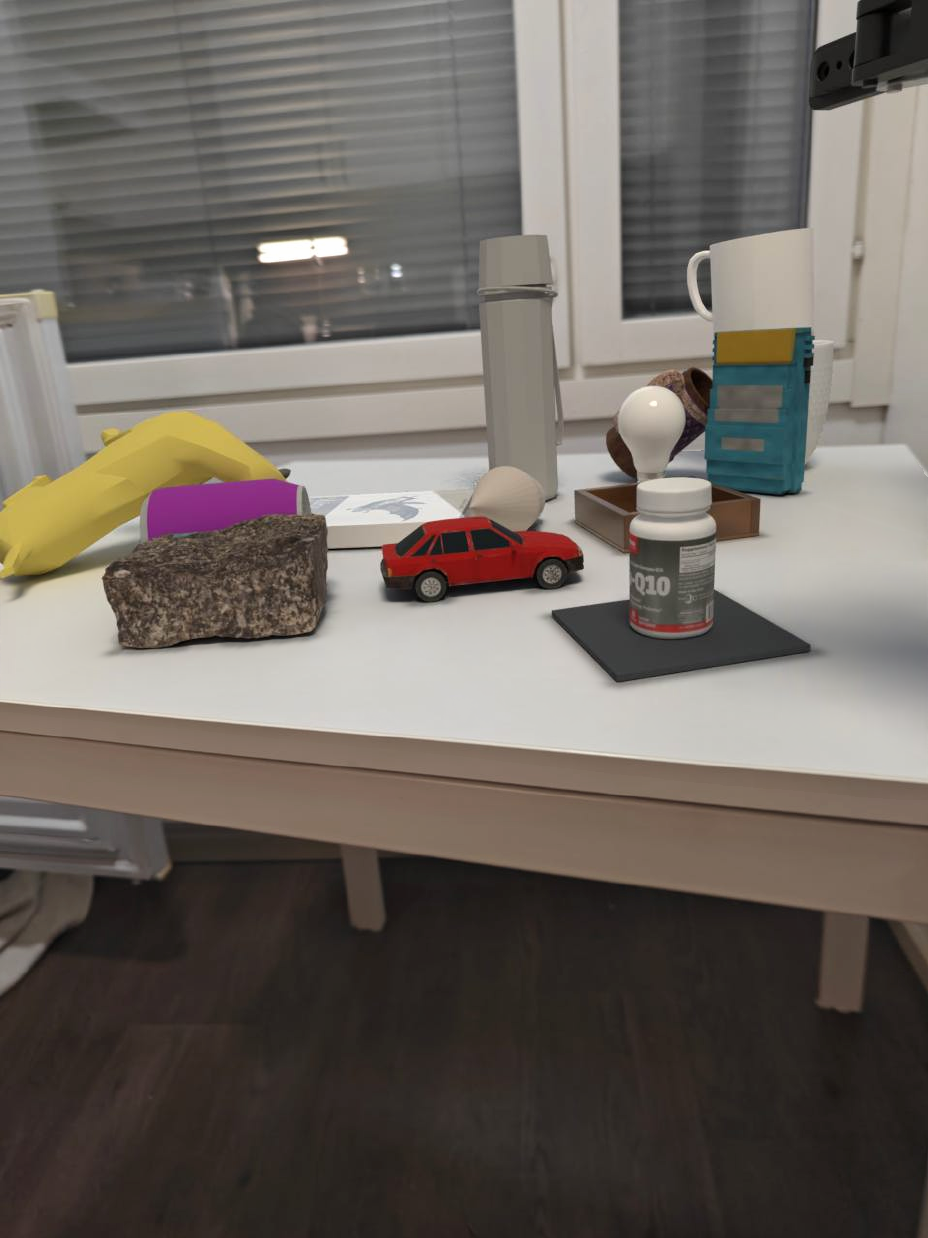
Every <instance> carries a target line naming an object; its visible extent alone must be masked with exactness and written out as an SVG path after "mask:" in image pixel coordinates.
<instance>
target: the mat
mask: <svg viewBox="0 0 928 1238" xmlns="http://www.w3.org/2000/svg"><path fill="white" fill-rule="evenodd" d="M551 617H552V618H553V619H554V620H555V621H556V622H557V623H558V624H559V625H560V626H561V627H562V628H563V630H565V631H566V632H567V633H568V634H569V635H570V636H571V637H572V638H573V639H574V640H575V641H576V642H577V643H578V644H579V645H580V646H581V647H582V648H583V649H584V650H585V651H586V652H587V653H588V654H589V655H590V656H591V657H592V658H593V659H594V660H595V661H596V662H597V663H598V664H599V665H600V666H601V667H602V668H603V669H604V670H605V671H606V672H607V673H608V675H610V676H611V677H612V678H613V679H614V680H615V681H616V682H618V683H619V682H626V681H632V680H638V679H643V678H651V677H656V676H663V675H670V674H676V673H682V672H687V671H695V670H700V669H701V670H702V669H707V668H713V667H719V666H725V665H732V664H738V663H745V662H750V661H756V660H757V661H758V660H763V659H770V658H775V657H776V658H777V657H783V656H788V655H794V654H795V655H796V654H801V653H807V652H811V646H812V645H811V644H810V643H809V642H807V641H805V640H803V639H802V638H799V637H798V636H796V635H795V634H793V633H792V632H789V631H788V630H786V629H785V628H783V627H781V626H779V625H777V624H775V623H774V622H772V621H770V620H768V619H767V618H765V617H763V616H761V615H760V614H759V613H756V612H755V611H753V610H751V609H749V608H748V607H746V606H745V605H742V604H741V603H739V602H738V601H736V600H734V599H732V598H730V597H728V596H727V595H725V594H724V593H722V592H720V591H718V590H716V589H715V588H714V610H713V624H712V627H711V628H710V629H709V630H708V631H707V632H706V633H704V634H701V635H698V636H695V637H689V638H682V639H659V638H653V637H649V636H645V635H643V634H641V633H639V632H637V631H636V630H634V629H633V628H632V627H631V625H630V618H629V599H622V600H614V601H608V602H600V603H594V604H586V605H581V606H573V607H572V606H571V607H565V608H557V609H552V610H551Z"/></svg>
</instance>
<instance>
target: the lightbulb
mask: <svg viewBox="0 0 928 1238" xmlns="http://www.w3.org/2000/svg"><path fill="white" fill-rule="evenodd" d="M618 411H619V413H618V420H617V422H618V430H619V433H620V435H621V437H622V439H623V441H624V442H625V444H626V445H627V447H628V448H629V450H630V452H631V454H632V457H633V462H634V466H635V468H636V470H637V476H638V477H637V479H638V480H636V481H637V482H636V483H641V482H645V481H649V480H654V479H662V478H665V476H666V471H667V468H668V465H669V464H670V463H669V458H670V454H671V451H672V449H673V448H674V446H675V445H676V443H677V441H678V440H679V438H680V437H681V435H682V433H683V430H684V427H685V421H686V415H685V409H684V406H683V404H682V402H681V400H680V399H679V397H678V396H677V395H676V394H675V393H674V392H672V391H671V390H669V389H667V388H665V387H661V386H655V385H652V386H647V385H645V386H642V387H638V388H637V389H635V390H634V391H632V392H631V393H629V395H627V397H626V398H625V399H624V400H623V401H622V403H621V405H620V407H619V409H618ZM668 463H669V464H668Z"/></svg>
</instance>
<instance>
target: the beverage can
mask: <svg viewBox="0 0 928 1238" xmlns="http://www.w3.org/2000/svg"><path fill="white" fill-rule="evenodd" d="M309 497H310V496H309V494H308V490H307V488H306V486H305V485H300V484H296V483H294V482H290V481H287V482H286V481H282V480H278V479H275V478H272V479H260V480H248V481H235V482H223V481H222V482H214V483H213V482H212V483H203V484H198V485H186V486H174V487H165V488H159V489H156V490H153V491H152V492H151V494H150V495H149V496H148V497H147V498H146V499H145V501H144V503H143V505H142V508H141V513H140V516H139V535H140V544H142V543H144V542H146V541H148V540H150V539H152V538H156V537H159V536H161V535H164V534H173V533H193V532H209V531H213V530H224V529H225V528H227V527H229V526H231V525H233V524H235V523H241V522H243V521H245V520H252V519H257V518H259V517H262V516H264V515H271V514H277V515H281V514H289V515H305V514H310V513H311V508H310V502H309Z"/></svg>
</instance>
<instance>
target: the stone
mask: <svg viewBox="0 0 928 1238" xmlns="http://www.w3.org/2000/svg"><path fill="white" fill-rule="evenodd" d="M327 535H328V529H327V524H326V519H325V516H324V515H317V514H313V513H310V514H305V515H289V514H281V515H277V514H271V515H264V516H262V517H259V518H257V519H252V520H245V521H243V522H241V523H235V524H233V525H231V526H229V527H227V528H225V529H224V530H213V531H209V532H193V533H173V534H164V535H161V536H159V537H156V538H152V539H150V540H148V541H146V542H144V543H138V544H136V547H134V549H133V550H132V552H130V554H127V555H125V556H124V557H122V558H117V559H115V560H114V561H113V562H111V563H110V564H109V565H108V566H107V567H105V570H104V571H105V573H104V574H103V575H102V577H101V580H102V584H103V591H104V593H105V597H106V601H107V602H108V603H109V606H110V609H111V611H113V613H114V616H115V619H116V627H117V638H118V639H117V640H118V644H119V645H122V646H124V647H130V648H136V649H137V648H138V649H158V648H165V647H170V646H174V645H175V644H178V643H180V642H185V641H189V640H193V639H201V638H203V639H204V638H211V637H215V636H217V637H220V638H225V637H228V638H233V639H238V638H243V639H259V638H265V637H270V636H281V637H282V636H283V637H285V636H293V635H300V634H301V635H302V634H305V633H311V632H312V631H313V630H314V629H315V628H316V626H317V623H318V621H319V619H320V616H321V613H322V610H323V607H324V606H325V605H326V603H327V592H328V591H327V587H328V583H327V574H328V569H329V568H328V566H329V559H328V550H329V548H328V546H327Z"/></svg>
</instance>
